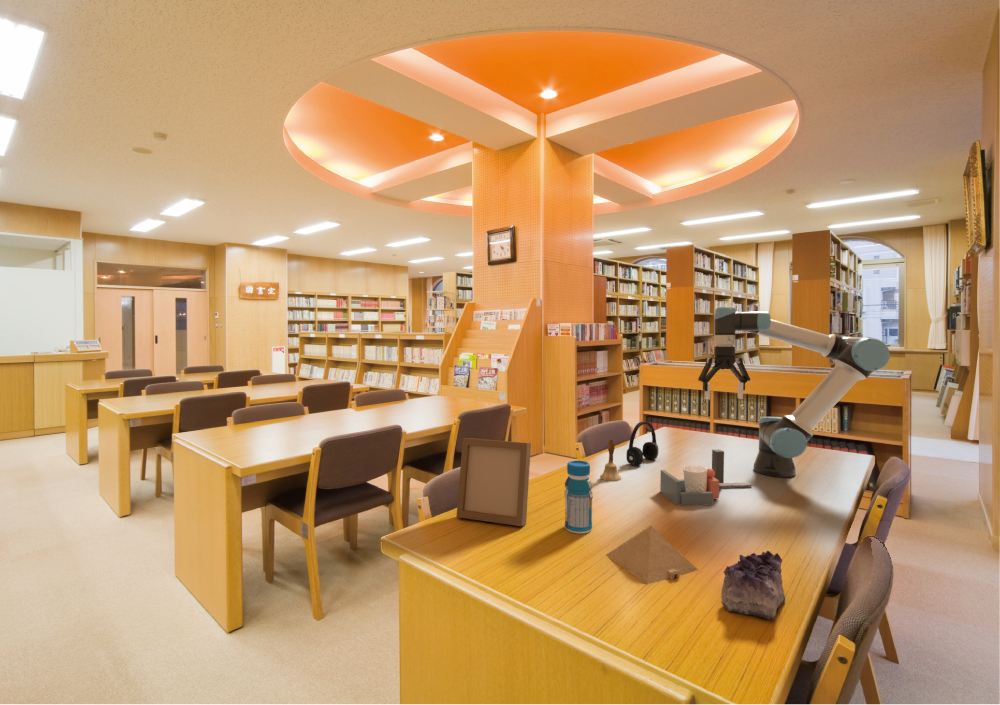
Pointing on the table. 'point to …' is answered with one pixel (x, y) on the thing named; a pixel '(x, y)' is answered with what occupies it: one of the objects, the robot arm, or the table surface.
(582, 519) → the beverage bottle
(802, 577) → the table surface
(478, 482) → the photo frame
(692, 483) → the white cup
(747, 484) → the rail
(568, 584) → the table surface
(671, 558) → the model pyramid
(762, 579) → the geode
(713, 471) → the striker slider
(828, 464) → the table surface
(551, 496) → the table surface
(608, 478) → the hand bell
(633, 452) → the headphones
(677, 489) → the frame
